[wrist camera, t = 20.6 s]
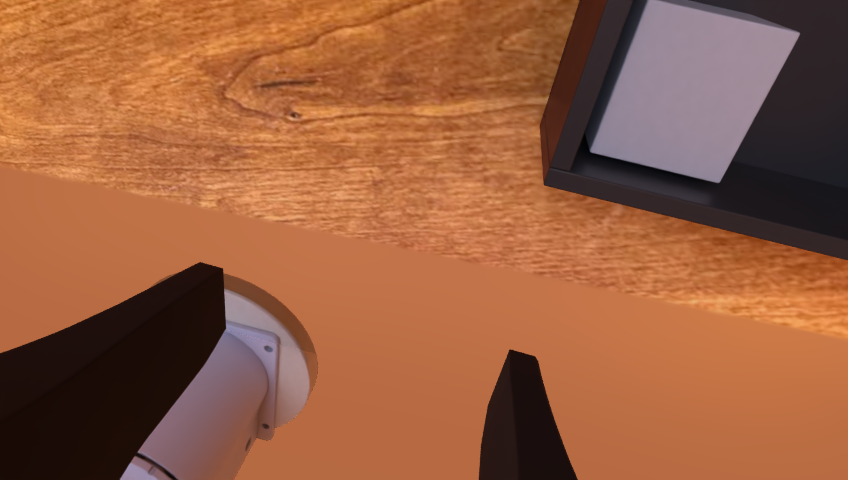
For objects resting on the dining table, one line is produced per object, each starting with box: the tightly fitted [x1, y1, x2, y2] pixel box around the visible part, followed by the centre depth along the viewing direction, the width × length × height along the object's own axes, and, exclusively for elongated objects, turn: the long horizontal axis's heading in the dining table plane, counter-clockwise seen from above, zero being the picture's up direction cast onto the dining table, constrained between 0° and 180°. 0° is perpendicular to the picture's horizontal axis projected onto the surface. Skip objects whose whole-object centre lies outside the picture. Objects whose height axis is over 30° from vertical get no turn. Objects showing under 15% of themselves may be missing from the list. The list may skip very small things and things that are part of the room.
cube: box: [584, 0, 800, 183], centre depth 16 cm, size 4×4×4 cm
